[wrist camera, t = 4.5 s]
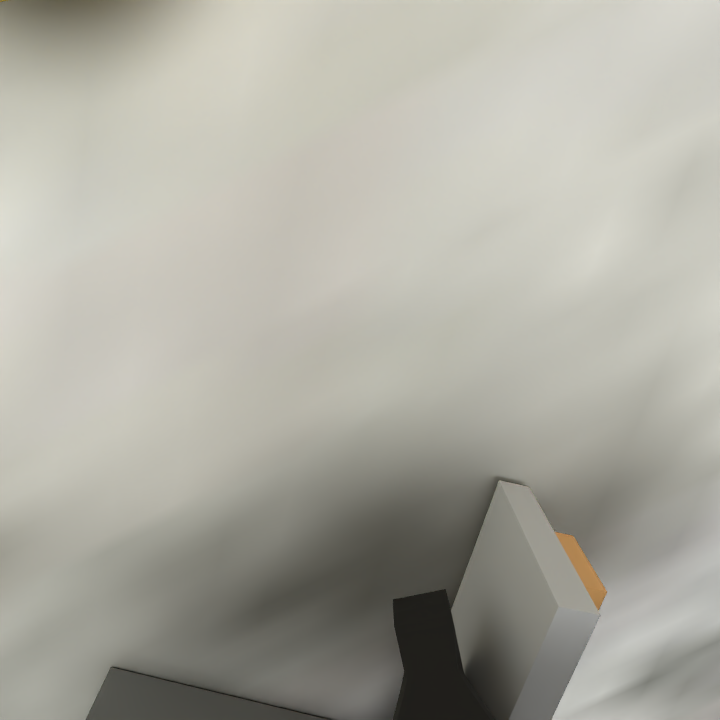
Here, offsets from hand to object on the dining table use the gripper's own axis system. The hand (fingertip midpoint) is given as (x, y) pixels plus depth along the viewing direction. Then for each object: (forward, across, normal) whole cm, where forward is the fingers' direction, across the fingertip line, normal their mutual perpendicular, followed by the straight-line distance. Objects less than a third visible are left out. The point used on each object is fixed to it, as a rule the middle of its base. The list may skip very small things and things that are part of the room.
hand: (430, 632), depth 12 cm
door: (+2, -1, +2) cm, 2 cm away
